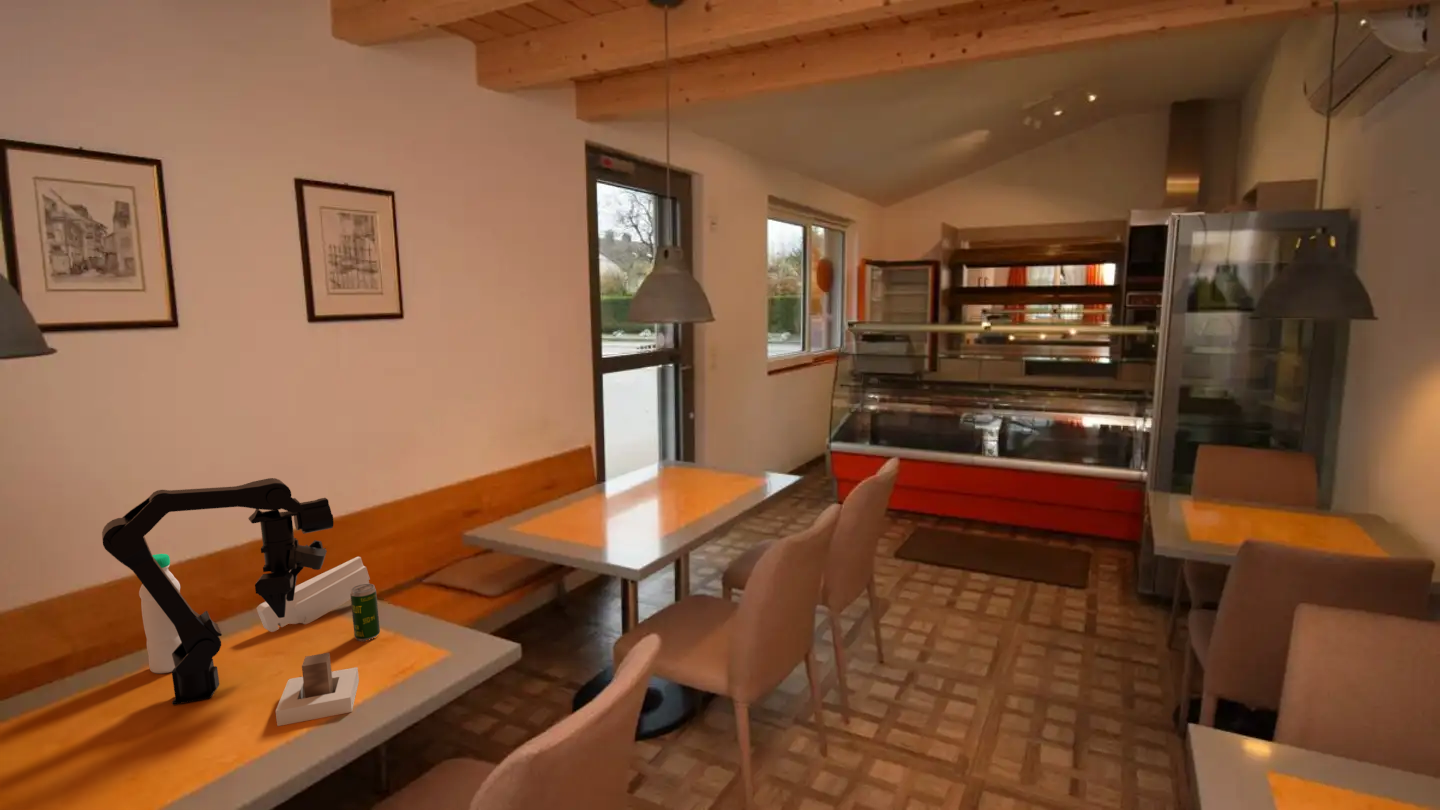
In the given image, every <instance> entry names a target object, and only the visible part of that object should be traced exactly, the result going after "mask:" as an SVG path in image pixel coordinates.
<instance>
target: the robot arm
mask: <svg viewBox="0 0 1440 810" xmlns="http://www.w3.org/2000/svg"><path fill="white" fill-rule="evenodd" d="M237 507H238V508H246V509H247V508H248V509H253V510H254V509H255V511H254V512H253V513H252V514H251V515H250V516H249V517H248V521H250V523H251V524H257V523H258V524H259V523H260V530H261V531H260V533H261V540H262V546H261V547H260V553H261V554H263V557H264V566H262V571H263V573H264V574H262V575H260V577H259V578H258V580H257V581H256V582H255V584H254V589H255V594H257V595H258V596H259V597H261V598H262V599H263V601H264V602H267V603H268V605H269V606H270V607H271V609H272V610H273V611H274V612H275V614H276V615H277V616H278V618H283V617H285V610H286V599H287V601H293V599H294V593H295V586H297V581H298V580H297V579H298V575H299V574H300V573H301V571H302V570H303V569H304V568H309V569H312V570H315V571H318V570H319V571H320V570H321V569H322V566H323V564H324V561H325V558H326V556H327V555H326V554H327V549H326V548H325V547H324V546H323V543H322V542H323V541H322V540H316V539H314V540H313V541H312V542H311V543H310V544H309V545H308V544H305V545H301V544H299V539H297V537H295V534H294V527H295V529H296V531H301V532H302V534H304V535H305V534H309V533H314V532H321V531H324V530H329V529H333V528H334V515H333V514H332V510H331V506H330V503H329V499H328V498H326V497H321V498H318V499H314V500H308V501H304V502H300V501H299V500H298V499H297V498H295V497H294V498H293V497H292V491H291V489H290V488H289V486H288V485H286V484H285V483H284V482H283V481H282V480H281V479H278V478H275V477H274V478H273V477H269V478H263V479H258V480H256V481H255V480H254V481H250V482H247V483H244V484H240V485H236V486H222V487H221V486H220V487H204V488H191V489H186V488H185V489H172V490H171V489H170V490H168V489H158V490H156V491H154V492H153V493H151V494H150V496H148V497H147V498H146V499H145V500H143V501H142V502H141V503H139V504H138V505H136V506H135V507H133V508H132V509H131V510H129V511H128V512H127V513H125V514H124V516H122V517H118V518H114V519H112V520H110V521H109V522H107V523H106V525H104V527H103V529H102V532H101V537H102V545H103V547H104V549H105V550H106V552H108V553H109V554H110V555H111V556H112V557H113V558H114V559H116V560H117V562H120V563H121V564H123V565H124V566H125V567H127V568H128V569H130V570H131V571H132V572H133V573H134V574H135V576H136V577H137V578H138V580H139V581H140V583H141V585H142V584H143V585H144V586H145V588H146V589H147V590H148V592H149V593H150V594H151V595H152V597H153V598H154V599H155V601H156V602H157V603H158V605H159V606H160V607H161V609H162V610H163V611H164V613H165V614H166V615H167V616H168V618H169V619H170V620H171V622H172V623H173V624H174V626H175V628H176V630H177V633H178V635H179V637H180V640H181V642H182V643H181V644H180V645H179V646H178V647H177V648H176V649H175V650H174V652H173V653H172V657H173V661H174V665H175V668H174V669H173V671H172V672H171V678H172V683H173V693H174V699H173V700H172V705H174V706H175V705H181V704H186V703H187V704H188V703H192V702H197V701H203V700H208V699H211V698H212V697H213V695H214V693H215V692H216V691H217V689H218V687H219V685H220V678H219V672H218V671H219V670H218V666H216V665H214V664H215V663H214V659H213V658H214V657H215V656H217V654H218V653H219V652H220V649H221V647H222V641H221V639H220V637H222V635H223V634H222V631H221V629H220V627H219V624H218V623H216V622H215V621H214V620H212V619H211V616H210V614H209V612H208V610H205V611H204V612H203V613H201V614H199V613H198V612H196V611H195V610H194V609H193V608H192V607H191V606H190V604H189V603H188V602H187V600H186V598H184V596H183V595H182V594H181V591H180V592H179V591H178V589H177V588H176V587H175V585H174V584H173V583H172V581H171V580H170V579H169V577H168V576H167V575H166V573H165V572H164V571H163V569H162V568H161V567H160V565H159V564H158V563H157V561H156V560H155V559H154V557H153V556H152V555H153V554H152V551H151V550H150V549H151V548H150V547H149V543H148V541H147V539H146V537H145V536H146V535H147V534H149V532H151V530H153V528H154V527H156V525H157V524H158V523H159V522H160V521H161V520H162V519H163V518H164V517H165V516H166V515H167V514H169V513H171V512H184V511H185V512H186V511H200V510H201V511H202V510H210V509H211V510H212V509H225V508H237ZM262 510H264V511H262ZM265 510H266V511H265ZM279 510H284V511H279ZM293 521H294V526H293ZM266 572H270V573H266Z"/></svg>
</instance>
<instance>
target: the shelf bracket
mask: <svg viewBox="0 0 1440 810" xmlns="http://www.w3.org/2000/svg"><path fill="white" fill-rule="evenodd" d="M369 580H371V578H370V575H369V572H368V568H367V566H365V565H364V563H363V560H362V557H361V556H356V557H353V558H351V559H350V560H347V561H346V562H343V563H342V564H341V563H340V564H339V565H337V566H335V567H333V568H330V569H329V570H326V571H324V572H323V573H321V574H318V575H316V576H314V577H312V578H310V579H308V580H305V581H304V582H302V583H300V584H296V586H295V593H294V599H293V601H287V599H286V610H285V617H283V618H278V616H277V615H276V614H275V612H274V611H273V610H272V609H271V607H270V606H269V605H268V603H267V602H266V601H264V602H262V603H260V604H259V605H257V607H256V611H257V614H258V616H259V618H260V622H261V623H262V626H263V628H264V629H265V630H267V631H268V632H271V633H275V632H277V630H279V629H280V628H283V627H285V626H286V625H288V624H289V625H291V624H292V625H298V624H303V625H308V624H311V622H314V621H316V620H317V619H320V618H321V617H322V616H324V615H326V614H328V613H329V612H331V611H333V610H335V609H337V608H338V607H340V606H341V605H343V604H346V602H348V601H351V596H350V594H351V589H352V588H353V587H355V586H358V585H362V584H371V583H370V581H369Z"/></svg>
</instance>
